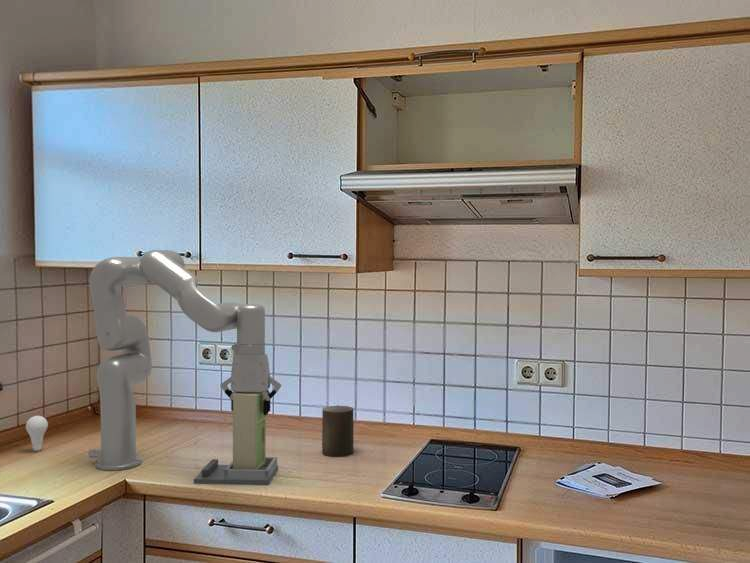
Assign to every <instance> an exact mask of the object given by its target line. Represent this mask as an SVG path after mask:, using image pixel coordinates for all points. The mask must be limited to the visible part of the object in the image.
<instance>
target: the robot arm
mask: <svg viewBox="0 0 750 563" xmlns="http://www.w3.org/2000/svg"><path fill="white" fill-rule="evenodd" d="M88 283H89V291H90V296H91V300H92V305H93V313H94V322H95V323H94V324H95V330H96V337H97V342H98V344H99V347H100V348H101V349H103V350H104V351H107V352H116V351H120V352H121V353H120V354H117V355H112V356H109V357H107V358H105V359H104V360H102V361H101V362H100V364H99V365H98V366H97V370H96V382H97V385H98V386H97V387H98V391H99V398H100V400H99V401H100V448H99V449H95V448H94V449H92V448H91V449H88V452H87V453H88V454H87V455H88V458H90V459H91V458H93V459H94V458H96V459H97V460H96V462H95V468H97V469H99V470H103V471H121V470H127V469H131V468H134V467H137V466H140V464H142V462H143V458H142V456H140V455H137V413H136V412H137V408H136V404H137V403H136V398H135V395H134V392H133V389H132V386H133V385H138V384H140V383H142V382H145V381H146V380H147V379H148V378H149V377H150V375H151V372H152V368H153V367H152V366H153V364H152V355H151V348H150V338H149V333H148V329H147V326H146V324H145V323H144V321H143V320H141V318H139V317H137V316H132V315H127V311H126V303H125V300H124V297H123V295H122V293H121V292H120V290H119V289H120V288H121V287H134V286H135V287H136V286H138V287H139V286H143V285H150V284H154V285H155V286H157V287H159V288H160V289H162V290H163V291H165V293H166V294H168V295H170V297H172V298H174V299H175V300H176V301H177V303H178V307H180V310H181V311H182V312H183V314H184V315H185V316H186V317H187V318H188V319H190V320H191V321H192V322H194V323H195V324H196V325H198V326H199V327H201V329H203V330H205V331H208V332H210V333H220V332H225V331H230V330H236V343H235V344H234V345H231V350H232V351H235V353H236V354H234V355H233V357H232V363H231V371H230V372H231V373H230V377H229V378H227V379H226V380H224V381H223V382H222V383H221V384H220V385H219V386H220V388H221V389H222V391H223V392H224V394H225V395H227V397H228V398H229V400H230V409H231V410H230V411H231V412H233V394H234V393H238V392H247V393H262V394H263V396H264V398H265V400H264V415H266V416H267V415H268V414H269V412H270V411H271V399H272V398H273V397H274V396H275V395H277V393H278V391H279V390H280V389H281V387H282V384H281V383H280V382H278V381H277V380H276V379H275V378H273V377H272V376H271V373H270V364H269V362H270V361H269V357H268V354H266V329H265V328H266V312H265V311H266V310H265V309H266V308H265V307H264V305H261V304H256V303H249V304H246V303H245V304H241V303H237V302H236V303H235V302H222V303H221V302H220V303H215V302H213V301H212V300H210V299H209V298H207V296H205V295H203V293H201V292H200V290H198V288H197V287H198V284H199V278H198V277H197V275H196V274H194V273H192V272H191V271H190V270H189V269H187V268H186V266H185V260H184V258H183V256H182V255H181V254H179V253H178V252H177V251H175V250H169V249H154V250H149V251H146V252H145V253H144V254H143V255H142V256H113V257H108V258H104V259H102V260H101V261H99V262H98V263H97V264H96V265H95V266H94V267H93V268H92V270H91V272H90V275H89V281H88ZM228 385H230V388H229V386H228ZM271 385H272V386H273V389H272V391H270V390H269V389H270V387H271Z"/></svg>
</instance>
